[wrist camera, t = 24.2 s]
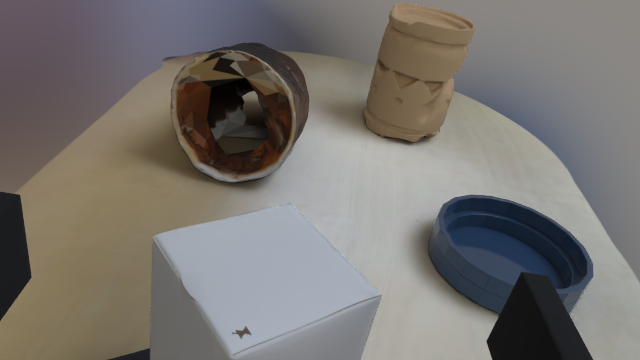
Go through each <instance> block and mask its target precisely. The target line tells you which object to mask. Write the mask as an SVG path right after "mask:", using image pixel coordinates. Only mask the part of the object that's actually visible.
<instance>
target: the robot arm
mask: <svg viewBox="0 0 640 360" xmlns="http://www.w3.org/2000/svg"><path fill="white" fill-rule="evenodd" d="M30 279H31V270H30V263H29V255H28V248H27V241H26V234H25V227H24V219H23V212H22V205H21V198H20V195H17V194H11V193H4V192H0V320H1V319H2V318H3V316H4V315H5V314H6V312H7V311H8V309H9V308H10V307H11V305H12V304H13V302H14V301H15V300H16V298H17V297H18V295H19V294H20V293H21V291H22V290H23V288H24V287H25V286H26V284H27V283H28V282H29V280H30ZM486 342H487V345H488V348H489V351H490V354H491V357H492V360H593V359H592V357H591V355H590V353H589V351H588V349H587V347H586V345H585V344H584V342H583V340H582V338H581V336H580V334H579V332H578V330H577V329H576V327H575V325H574V323H573V321H572V319H571V317H570V315H569V314H568V312H567V310H566V308H565V306H564V304H563V302H562V300H561V299H560V297H559V295H558V293H557V291H556V289H555V287H554V285H553V284H552V282H551V280H550V278H549V276H546V275H540V274H533V273H527V272H521V274H520V276H519V278H518V280H517V282H516V284H515V286H514V288H513V290H512V292H511V294H510V296H509V297H508V299H507V301H506V303H505V305H504V307H503V309H502V311H501V313H500V315H499V317H498V319H497V321H496V323H495V325H494V327H493V329H492V331H491V333H490V335H489V337H488V339H487V341H486Z"/></svg>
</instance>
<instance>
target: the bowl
mask: <svg viewBox="0 0 640 360" xmlns="http://www.w3.org/2000/svg"><path fill="white" fill-rule="evenodd" d="M428 244H429V253H430V257H431V259H432V261H433V262H434V264H435V266H436V268H437V270H438V272H439V273H440V274H441V275H442V276H443V277H444V278H445V279H446V280H447V281H448V282H449V283H450V284H451V285H452V286H453V287H454V288H455V289H456V290H458V291H459V292H461V293H462V294H464V295H465V296H467V297H468V298H470V299H471V300H473V301H474V302H476V303H477V304H479V305H481V306H483V307H486V308H488V309H490V310H493V311H495V312H497V313H501V311H502V309H503V307H504V305H505V303H506V301H507V299H508V297H509V296H510V294H511V292H512V290H513V288H514V286H515V284H516V282H517V280H518V278H519V276H520V274H521V272H527V273H533V274H540V275H546V276H549V278H550V280H551V282H552V284H553V285H554V287H555V289H556V291H557V293H558V295H559V297H560V299H561V300H562V302H563V304H564V306H565V308H566V310H567V312H568V314H569V313H570V312H571V311H572V309H573V308H574V307H575V305H576V304H577V303H578V301H579V299H580V298H581V296H582V294H583V293H584V291H585V289H586V288H587V286H588V285H589V283H590V281H591V280H592V278H593V263H592V261H591V259H590V257H589V255H588V253H587V251H586V249H585V248H584V246H583V245H582V244H581V243H580V242H579V241H578V240H577V239H576V238H575V237H574V236H573V235H572V234H571V233H570V232H569V231H568V230H566V229H565V228H563V227H562V226H561V225H559V224H558V223H557V222H555V221H554V220H552V219H551V218H549V217H547V216H545V215H543V214H541V213H539V212H538V211H536V210H534V209H532V208H529V207H527V206H524V205H521V204H519V203H516V202H513V201H510V200H506V199H502V198H497V197H493V196H485V195H466V196H461V197H455V198H453V199H451V200H450V201H448V202H446V203H445V204H443V206H442V208H441V210H440V212H439V214H438V216H437V219H436V222H435V224H434V227H433V230H432V232H431V235H430V238H429V240H428Z"/></svg>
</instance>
